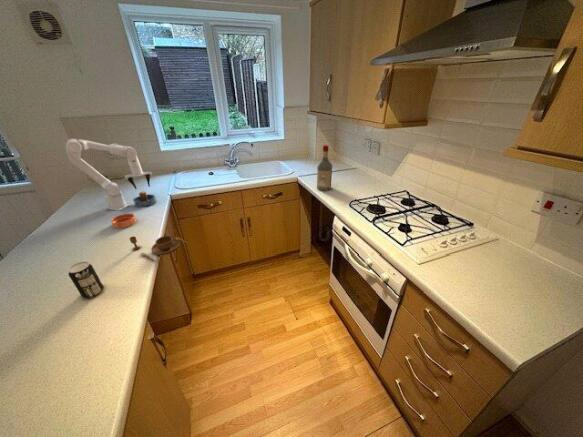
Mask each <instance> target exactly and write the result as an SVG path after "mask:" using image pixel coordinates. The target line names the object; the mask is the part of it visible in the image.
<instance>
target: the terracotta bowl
mask: <svg viewBox="0 0 583 437" xmlns="http://www.w3.org/2000/svg"><path fill="white" fill-rule="evenodd" d="M137 222H138V221H137V218H136V215H135V214H134V213H130V212H129V213H123V214H119V215H117V216H115V217H112V219H111V220H110V223H111V226H112V227H113V229H116V230H121V229H126V228H129V227H132V226H134V225H135V224H136V223H137Z"/></svg>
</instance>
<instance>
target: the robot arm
mask: <svg viewBox="0 0 583 437" xmlns="http://www.w3.org/2000/svg"><path fill="white" fill-rule="evenodd" d="M89 149H94V150H100V151H107V152H109V153H110V154H111V155H116V156H122V157H126V158H127V162H128V165H129V169H130V172H131V173H130V174H126V175H124V179H125V180H127V181H128V182H129V183H130V184H131V185H132V186H133V187H134V189H135V190H138V188H137V185H136V183H135V180H134V178H140V177H145V179H146V182H147V185H148V187H151V184H150V180H151V176H152V175H153V174H152V171H143V169H142V166H141V163H140V160H139V158H138V152H137V150H135V148H134V147H132V146H127V145H120V144H118V143H116V142H114V143H110V144H105V143H101V142H96V141H91V140H87V139H80V138H79V139H77V138H69V139H68V140H67V141H66V144H65V151H66V154H67V157H68V160H69V162H70V163H71V164H73V165H74V166H75V167H77V169H79V170H80V171H82V172H83V173H85V175H87V176H88V177H89V178H91V179H92V180H94V181H95V182H96V183H98V184H99V185H100V186H101V187H102V188H103V189H104V190H105V191H106V193H107V194H106V195H105V196H104V200H105V202H106V205H107V210H114V211H117V210H119V211H121V210H123V209H125V208H126V207H129V206H131V204H130V203H127V202H126V200H125V197H124V195H123V193H122V191H121V189H120V188H119V185H118V183H116V182H114V181H111V180H110V179H109V178H107V177H105V176H104V175H103V174H102V173H100V172H99V171H98V170H96V169H95V168H94V167H93V166H92V165H91V164H89V163H88V162H87V161H85V160H84V159H83V158H82V156H81V155H82V154H81V153H82V151H83V150H84V151H86V150H89Z"/></svg>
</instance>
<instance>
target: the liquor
mask: <svg viewBox="0 0 583 437" xmlns="http://www.w3.org/2000/svg"><path fill="white" fill-rule="evenodd" d="M329 146H330V145H328V144H323V145H322V159H321V161H320V162H319V164H318V165H317V169H316V170H317V172H316V175H317V176H316V177H317V178H316V189H317V190H318V191H323V192H328V191H330V190H331V187H332V177H333V164H332V163H331V161H329Z"/></svg>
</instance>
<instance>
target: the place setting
mask: <svg viewBox="0 0 583 437" xmlns="http://www.w3.org/2000/svg"><path fill="white" fill-rule="evenodd" d="M137 240H138V239H137V237H136V236H134V235H133V236H130V237H129V241H130V243H131V244H132V245H133V246H134V247H133V249H132V250H133V251H138V250H140V249H141V246H139V245H138V244H137V242H138V241H137ZM181 241H182V242H183V243H185V244H188V242H187V241H185V240H184V239H182V238H181V237H180V236H175V238H173V237H172V236H171V235H164V236H161V237H158V238H157V239H156V240H155V243H154V244H153V245H152V246H151V249H150V251H151V252H152V254H154V255H155V256H165V255H166V256H167V255H169V254H172V253H174V252H175V251H177V250H178V249H179V247H180V245H181V243H180V242H181ZM140 256H142V257H144V258H145V257H146V258H147V259H149V260H150V261H152V262H155V259H153V258H151V257H150V256H148V255H147V254H146V253H144V252H141V253H140Z"/></svg>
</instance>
